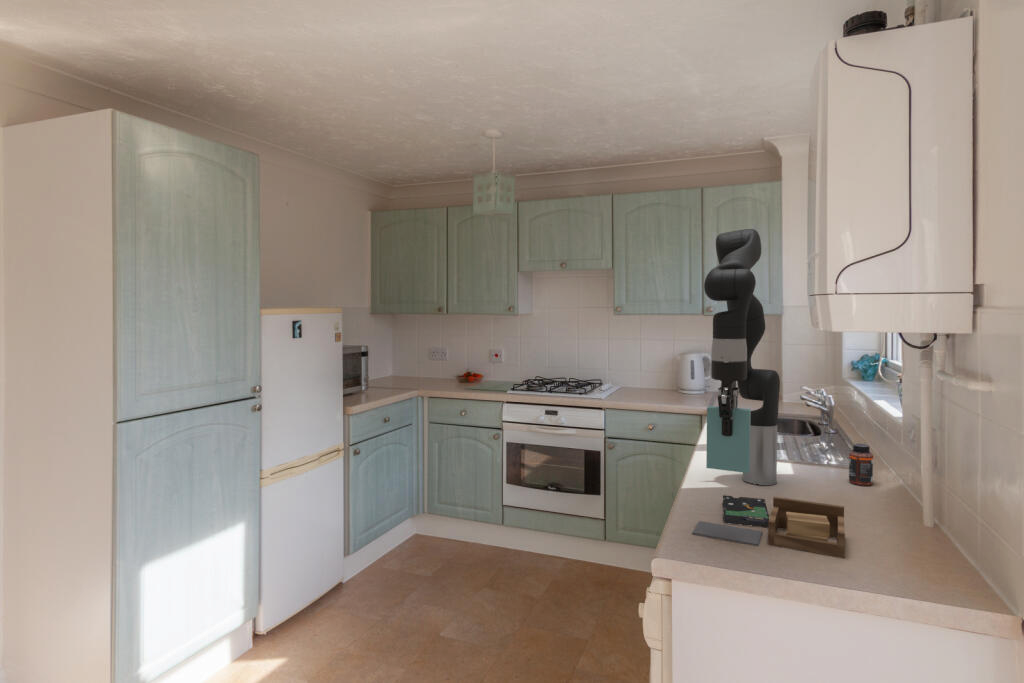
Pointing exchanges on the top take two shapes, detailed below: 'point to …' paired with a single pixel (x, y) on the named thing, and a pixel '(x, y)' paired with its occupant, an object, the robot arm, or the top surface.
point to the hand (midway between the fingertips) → (728, 434)
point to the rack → (806, 544)
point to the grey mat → (728, 533)
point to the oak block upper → (807, 524)
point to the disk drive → (745, 511)
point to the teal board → (728, 441)
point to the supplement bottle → (861, 465)
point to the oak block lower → (808, 536)
